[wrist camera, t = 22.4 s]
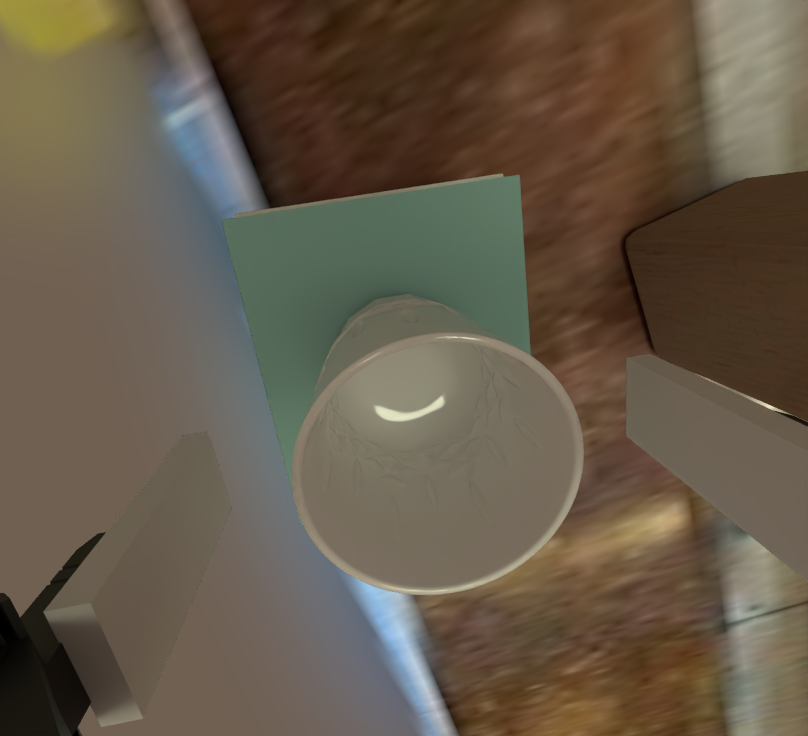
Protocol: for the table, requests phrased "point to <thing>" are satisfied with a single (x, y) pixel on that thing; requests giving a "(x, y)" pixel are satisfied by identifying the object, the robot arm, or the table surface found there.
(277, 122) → the table surface
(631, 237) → the block
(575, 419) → the white cup
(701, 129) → the table surface
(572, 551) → the table surface
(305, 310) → the lid
